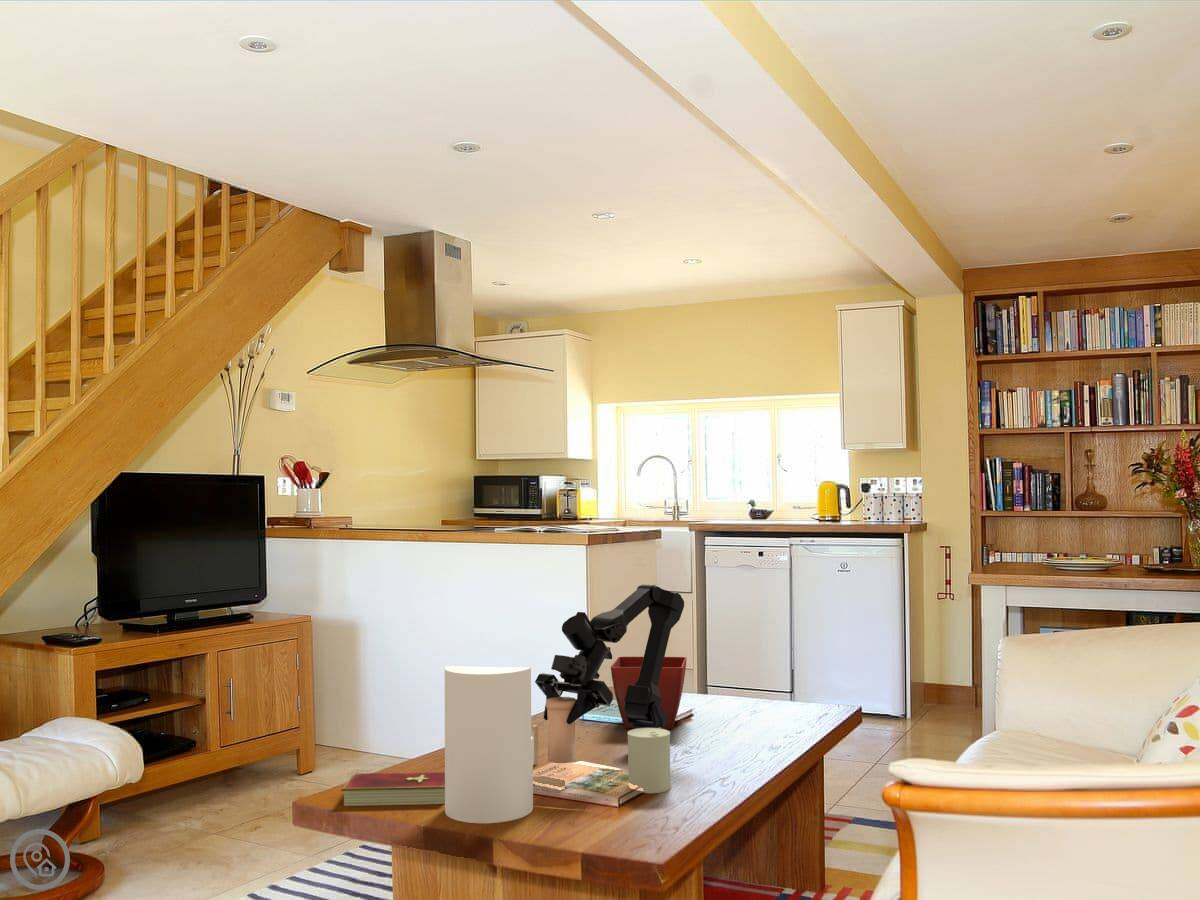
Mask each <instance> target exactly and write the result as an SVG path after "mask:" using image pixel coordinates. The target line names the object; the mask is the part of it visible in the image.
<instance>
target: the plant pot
mask: <svg viewBox="0 0 1200 900" xmlns="http://www.w3.org/2000/svg"><path fill="white" fill-rule="evenodd" d="M643 657H644V656H618V657H617V658H616V660H615V661H614V662H613V663H612V664H611V665H610V673H611V680H612V686H613V692H614V694H615V696H614V697H615V700H616V704H617V708H618V712H619V714H620V718H621V720H622V723H623V726H624V728H625V729H633V724H628V723H627V718H626V714H625V710H624V703H625V701H624V699H625V697H626V693H627V688H628V686H629V685H634V684H635V683H636V682H637V681H638V678H639V674H640V670H641V666H642V662H643ZM687 660H688V659H687V657H685V656H665V657H664V661H663V665H662V669H661V674H660V678H659V682H658V689H659V692H660V695H661V705H660V706H661V707H662V709H663V710H664V711H665V713H666V714H667V716H668V718H667V724H666V725H664V727H661V729H665V730H670V729H673V727H674V725H675V723H676V720H675V719H677V716H678V711H679V708H680V704H681V699H682V695H683V688H684V683H685V677H686V676H685V675H686V668H687Z"/></svg>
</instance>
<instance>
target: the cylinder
mask: <svg viewBox="0 0 1200 900" xmlns="http://www.w3.org/2000/svg"><path fill="white" fill-rule="evenodd" d="M531 731H532V667H520V666H519V667H518V666H517V667H515V666H514V667H513V666H512V667H511V666H507V667H506V666H470V665H469V666H468V665H467V666H459V665H458V666H457V665H455V666H454V665H447V666H445V667H444V772H445V804H444V813H445V815H446V817H448V818H449V819H452V820H455V821H457V822H464V823H468V824H469V823H471V824H493V823H494V824H498V823H504V822H511V821H515V820H518V819H521V818H524V817H526V816H528V815H529V814H530V813H532V811H533V809H534V785H533V774H534V771H533V769H534V765H533V737H532V736H531Z"/></svg>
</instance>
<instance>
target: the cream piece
mask: <svg viewBox="0 0 1200 900" xmlns="http://www.w3.org/2000/svg"><path fill="white" fill-rule="evenodd" d="M531 736H532V737H533V766H537V765H539V726H538V725H535V724H534V725H531ZM571 764H581V765H586V766H592V767H600V768H609V769H615V770H618V771H621V768H620V767H619V768H618V767H614V766H609V765H604V764H599V763H594V762H590V761H589V762H588V761H582V760H579V761H576V762H573V763H572V762H571ZM533 781H535V782H538V783H542V784H549V785H553V786H558V787H562V786H565V781H564V780H560V779H555V778H550V777H545V776H541V775H539V774H537V773H536V774H534V773H533Z"/></svg>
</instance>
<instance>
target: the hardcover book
mask: <svg viewBox="0 0 1200 900" xmlns="http://www.w3.org/2000/svg"><path fill="white" fill-rule="evenodd" d="M341 792H343V806H344V807H359V806H360V807H362V806H363V807H364V806H367V807H368V806H405V805H407V806H408V805H409V806H410V805H411V806H412V805H416V806H417V805H445V771H430V772H429V771H423V772H379V773H378V772H376V773H375V772H374V773H373V772H372V773H370V772H369V773H367V772H366V773H352V774H351V776H350V777H349V779H348V780H347V781H346V782H345V783H344V785H343V787H342V788H341Z"/></svg>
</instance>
